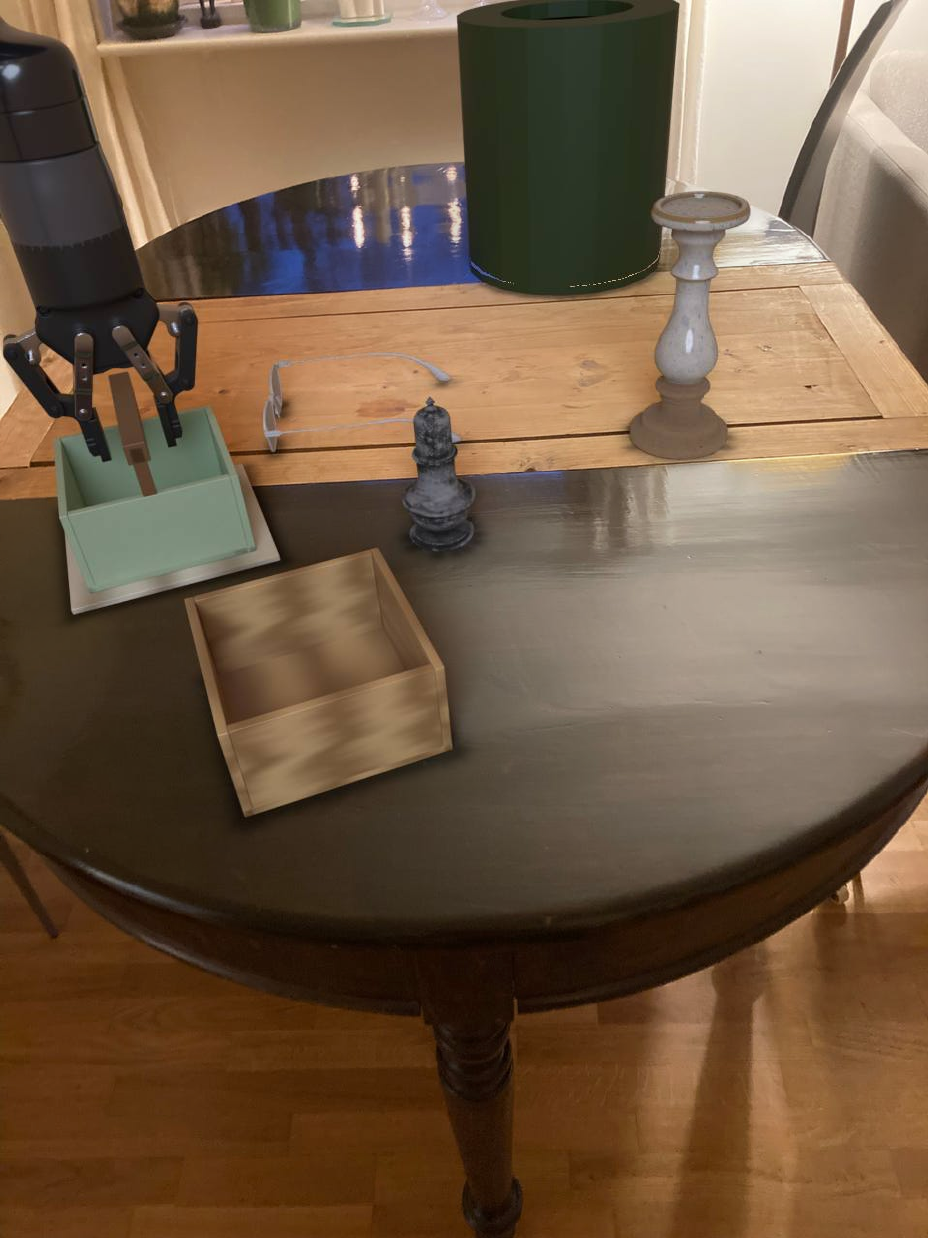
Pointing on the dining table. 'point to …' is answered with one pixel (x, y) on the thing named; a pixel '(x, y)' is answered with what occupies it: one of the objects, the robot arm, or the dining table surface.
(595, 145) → the flower pot
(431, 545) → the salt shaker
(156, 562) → the top basket
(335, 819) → the dining table surface
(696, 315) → the candle holder
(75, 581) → the placemat
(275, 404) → the eyeglasses
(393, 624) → the brown wooden open box
